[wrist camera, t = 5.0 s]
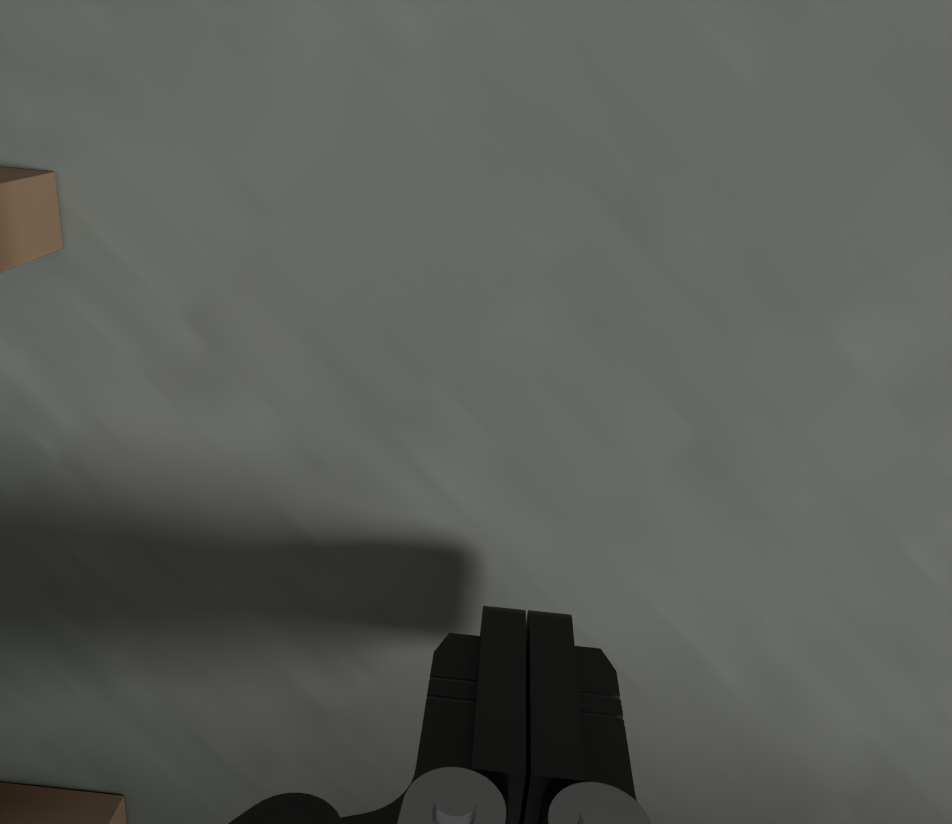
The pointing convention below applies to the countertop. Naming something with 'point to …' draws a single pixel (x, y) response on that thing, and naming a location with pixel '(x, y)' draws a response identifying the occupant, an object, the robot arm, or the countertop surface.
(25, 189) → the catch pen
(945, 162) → the countertop surface
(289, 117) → the countertop surface
